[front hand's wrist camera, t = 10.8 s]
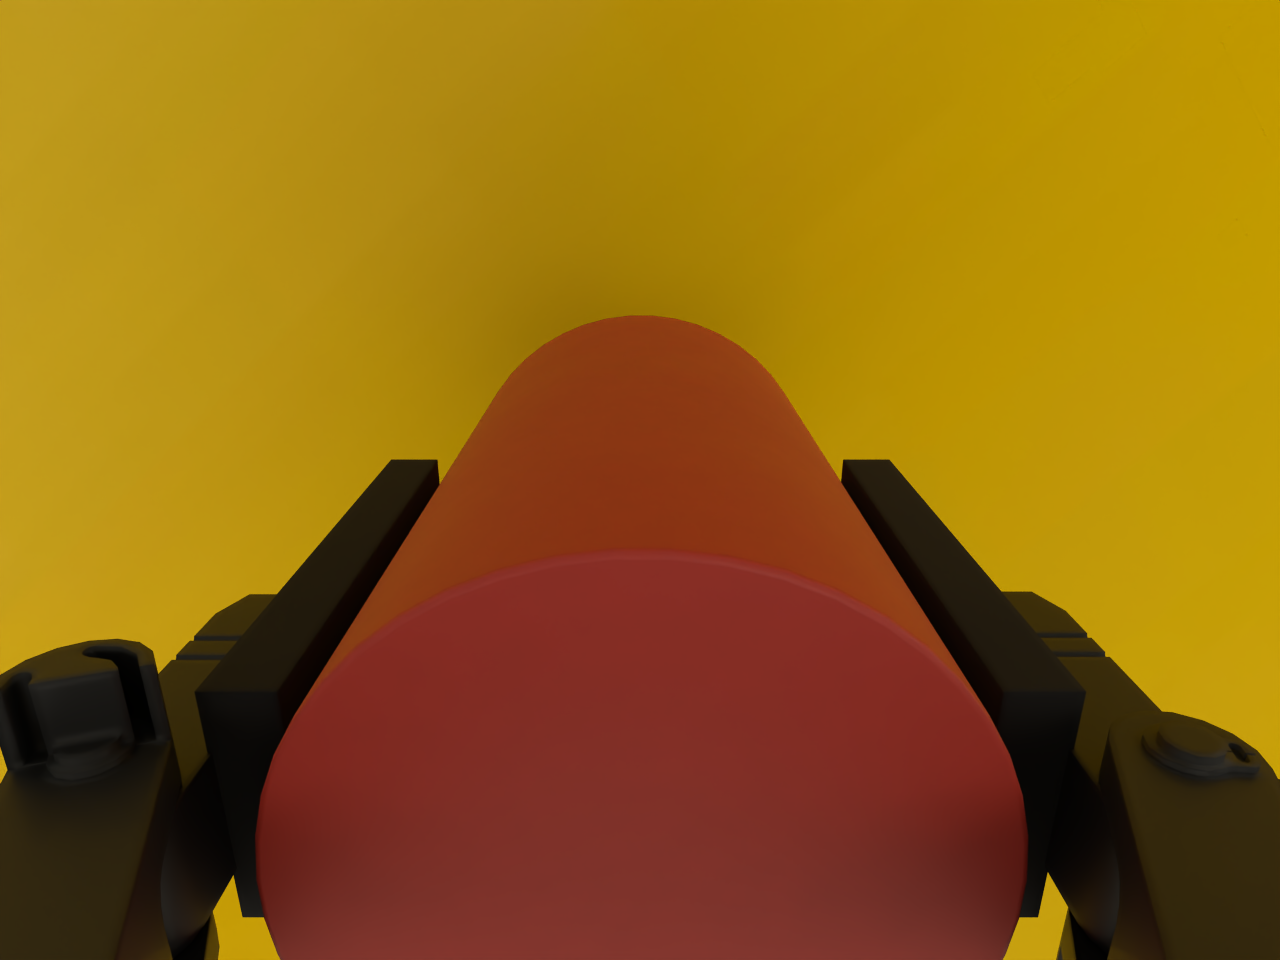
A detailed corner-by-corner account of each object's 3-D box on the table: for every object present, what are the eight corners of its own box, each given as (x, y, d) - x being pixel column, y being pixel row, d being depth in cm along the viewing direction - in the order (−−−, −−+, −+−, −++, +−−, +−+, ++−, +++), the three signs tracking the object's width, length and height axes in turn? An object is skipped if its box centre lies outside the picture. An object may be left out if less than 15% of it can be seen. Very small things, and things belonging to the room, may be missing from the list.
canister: (626, 678, 19) (611, 1241, 9) (407, 465, 17) (89, 872, 7) (871, 494, 17) (1177, 929, 7) (657, 239, 15) (688, 364, 6)
